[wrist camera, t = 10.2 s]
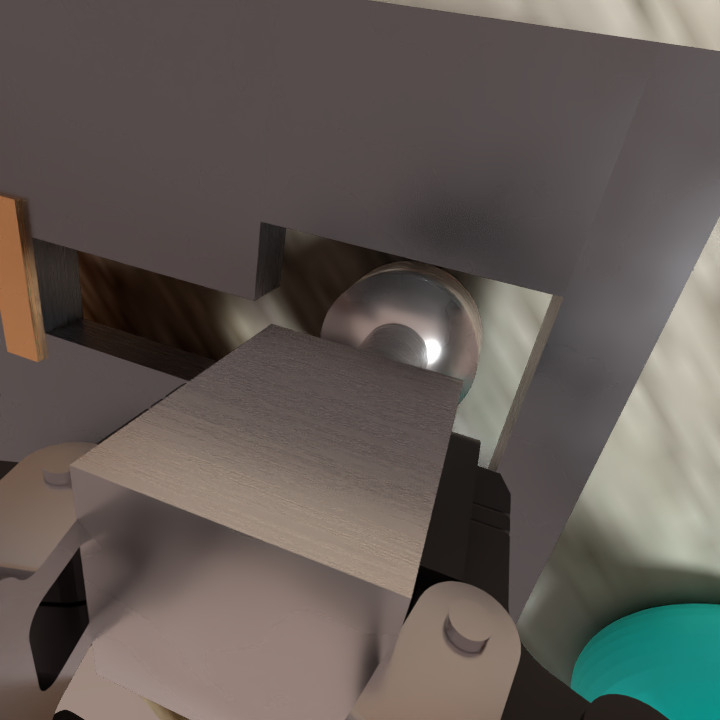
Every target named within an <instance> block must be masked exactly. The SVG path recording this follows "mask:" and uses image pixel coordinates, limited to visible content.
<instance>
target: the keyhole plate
mask: <svg viewBox="0 0 720 720" xmlns="http://www.w3.org/2000/svg"><path fill="white" fill-rule="evenodd" d="M719 216H720V51H715V50H708V49H701V48H694V47H687V46H680V45H673V44H666V43H659V42H652V41H645V40H638V39H632V38H625V37H618V36H611V35H604V34H597V33H590V32H583V31H576V30H569V29H562V28H555V27H548V26H541V25H534V24H528V23H521V22H514V21H507V20H500V19H493V18H486V17H479V16H472V15H465V14H458V13H451V12H444V11H437V10H431V9H424V8H417V7H410V6H403V5H396V4H389V3H382V2H375V1H368V0H0V460H1V461H11V462H20V461H22V460H23V459H24V458H25V457H27V456H29V455H30V454H32V453H34V452H36V451H38V450H40V449H43V448H45V447H48V446H52V445H55V444H60V443H66V442H88V443H93V444H96V443H98V442H99V441H101V440H102V439H104V438H105V437H106V436H108V435H109V434H111V433H112V432H114V431H115V430H117V429H118V428H120V427H121V426H122V425H124V424H125V423H127V422H128V421H130V420H131V419H133V418H134V417H135V416H137V415H138V414H140V413H141V412H143V411H144V410H146V409H150V408H151V405H153V404H154V403H156V402H157V401H159V400H160V399H164V398H165V396H166V395H167V394H169V393H170V392H172V391H173V390H175V389H176V388H177V387H179V386H180V385H182V384H184V383H188V382H189V381H191V380H192V379H193V378H195V377H196V376H198V375H199V374H201V373H202V372H203V371H205V370H206V369H208V368H209V367H211V366H212V365H214V364H215V363H216V362H218V361H215V360H212V359H209V358H206V357H203V356H200V355H196V354H193V353H190V352H187V351H184V350H181V349H178V348H174V347H171V346H168V345H165V344H162V343H159V342H156V341H152V340H149V339H146V338H143V337H140V336H137V335H134V334H131V333H127V332H124V331H121V330H118V329H115V328H112V327H109V326H105V325H102V324H99V323H96V322H93V321H90V320H87V319H83V309H82V298H81V287H80V276H79V265H78V254H77V250H79V251H82V252H85V253H89V254H92V255H96V256H99V257H103V258H106V259H110V260H113V261H117V262H120V263H124V264H127V265H131V266H134V267H138V268H141V269H145V270H148V271H152V272H155V273H159V274H162V275H166V276H169V277H173V278H176V279H180V280H183V281H187V282H190V283H194V284H197V285H201V286H204V287H208V288H211V289H215V290H218V291H222V292H225V293H229V294H232V295H236V296H239V297H243V298H246V299H250V300H253V301H255V300H256V299H258V298H260V297H262V296H264V295H265V294H267V293H269V292H271V291H273V290H274V289H276V288H278V287H280V282H281V272H282V263H283V253H284V244H285V234H286V228H288V229H292V230H296V231H300V232H304V233H308V234H312V235H316V236H320V237H324V238H328V239H332V240H336V241H340V242H344V243H348V244H352V245H356V246H360V247H364V248H368V249H372V250H376V251H380V252H384V253H388V254H392V255H396V256H400V257H404V258H408V259H412V260H416V261H420V262H424V263H428V264H432V265H436V266H440V267H444V268H448V269H452V270H456V271H460V272H464V273H468V274H472V275H476V276H480V277H484V278H488V279H492V280H496V281H500V282H504V283H508V284H512V285H516V286H520V287H524V288H528V289H532V290H536V291H540V292H544V293H548V294H552V295H553V296H552V299H551V302H550V304H549V307H548V310H547V312H546V315H545V318H544V320H543V323H542V326H541V328H540V331H539V334H538V336H537V339H536V342H535V344H534V347H533V350H532V352H531V355H530V358H529V360H528V363H527V366H526V368H525V371H524V374H523V376H522V379H521V382H520V384H519V387H518V390H517V392H516V395H515V398H514V400H513V403H512V406H511V408H510V411H509V414H508V416H507V419H506V422H505V424H504V427H503V430H502V432H501V435H500V438H499V440H498V443H497V446H496V448H495V451H494V454H493V456H492V459H491V462H490V464H489V467H488V470H491V471H494V472H497V473H500V474H501V476H502V478H503V480H504V482H505V484H506V486H507V488H508V490H509V492H510V493H511V511H510V533H509V536H510V557H509V614H510V617H511V618H512V620H513V622H514V624H516V622H517V620H518V618H519V616H520V614H521V612H522V610H523V608H524V606H525V604H526V602H527V600H528V598H529V596H530V594H531V592H532V590H533V588H534V586H535V584H536V582H537V580H538V578H539V576H540V574H541V572H542V570H543V568H544V566H545V564H546V562H547V560H548V558H549V556H550V554H551V552H552V550H553V548H554V546H555V544H556V542H557V540H558V538H559V536H560V534H561V532H562V530H563V528H564V526H565V524H566V522H567V520H568V518H569V516H570V514H571V512H572V510H573V508H574V506H575V504H576V502H577V500H578V498H579V496H580V494H581V492H582V490H583V488H584V486H585V484H586V482H587V480H588V478H589V476H590V474H591V472H592V470H593V468H594V466H595V464H596V462H597V460H598V458H599V456H600V454H601V452H602V450H603V448H604V446H605V444H606V442H607V440H608V438H609V436H610V434H611V432H612V430H613V428H614V426H615V424H616V422H617V420H618V418H619V416H620V414H621V412H622V410H623V408H624V406H625V404H626V402H627V400H628V398H629V396H630V394H631V392H632V390H633V388H634V386H635V384H636V382H637V380H638V378H639V376H640V374H641V372H642V370H643V368H644V366H645V364H646V362H647V360H648V358H649V356H650V354H651V352H652V350H653V348H654V346H655V344H656V342H657V340H658V338H659V336H660V334H661V332H662V330H663V328H664V326H665V324H666V322H667V320H668V318H669V316H670V314H671V312H672V310H673V308H674V306H675V304H676V302H677V300H678V298H679V296H680V294H681V292H682V290H683V288H684V286H685V284H686V282H687V280H688V278H689V276H690V274H691V272H692V270H693V268H694V266H695V264H696V262H697V260H698V258H699V256H700V254H701V252H702V250H703V248H704V246H705V244H706V242H707V240H708V238H709V236H710V234H711V232H712V230H713V228H714V226H715V224H716V222H717V220H718V218H719Z"/></svg>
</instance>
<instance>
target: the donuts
mask: <svg viewBox="0 0 720 720" xmlns="http://www.w3.org/2000/svg"><path fill="white" fill-rule="evenodd" d="M570 688H571V689H572V690H574V691H575V692H576V693H578V694H579V695H581V696H582V697H583V698H585V699H586V700H587V701H589V702H590V703H592V701H593V700H595V699H596V698H598V697H600V696H603V695H606V694H621V695H627V696H630V697H633V698H636V699H638V700H640V701H642V702H644V703H646V704H648V705H650V706H651V707H653V708H654V709H656V710H658V711H659V712H660V713H662V714H663V715H664V716H665V717H667V718H668V719H669V720H720V605H718V604H698V603H692V604H674V605H666V606H659V607H654V608H649V609H645V610H642V611H639V612H636V613H633V614H631V615H628V616H625V617H623V618H621V619H619V620H617V621H615V622H613V623H611V624H610V625H608V626H606V627H605V628H603V629H602V630H601V631H599V632H598V633H597V634H596V635H595V636H594V637H593V638H592V639H591V640H590V641H589V642H588V643H587V645H586V646H585V647H584V649H583V650H582V652H581V654H580V655H579V657H578V659H577V661H576V663H575V666H574V669H573V674H572V679H571V686H570Z"/></svg>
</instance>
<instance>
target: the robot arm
mask: <svg viewBox="0 0 720 720" xmlns="http://www.w3.org/2000/svg"><path fill="white" fill-rule="evenodd" d="M185 384H186V383H184V384H182V385H180V386H179V387H177V388H176V389H175V390H173V391H172V392H170V393H169V394H167V395H166V396H165V398H166V397H168V396H169V395H171V394H172V393H173V392H175V391H176V390H178V389H179V388H181V387H182V386H183V385H185ZM165 398H164V399H165ZM162 400H163V399H160V400H159V401H157V402H156V403H154V404H153V405H151V408H152V407H153V406H155V405H156V404H158V403H159V402H161V401H162ZM148 410H149V409H146V410H144V411H143V412H141V413H140V414H138V415H137V416H135V417H134V418H133V419H131V420H130V421H128V422H127V423H125V424H124V425H122V426H121V427H120V428H118V429H117V430H115V431H114V432H112V433H111V434H109V435H108V436H106V437H105V438H104V439H102V440H101V441H99V442H98V443H96V444H93V443H88V442H66V443H60V444H55V445H52V446H48V447H45V448H43V449H40V450H38V451H36V452H34V453H32V454H30V455H29V456H27V457H25V458H24V459H23V460H22V461H20V462H11V461H1V460H0V720H53V717H54V714H55V711H56V708H57V706H58V704H59V702H60V700H61V698H62V696H63V694H64V692H65V690H66V689H67V687H68V685H69V683H70V681H71V680H72V677H73V676H74V674H75V672H76V670H77V669H78V667H79V665H80V663H81V662H82V660H83V658H84V656H85V654H86V653H87V651H88V649H89V647H90V646H91V644H92V637H91V629H90V622H89V615H88V607H87V599H86V591H85V583H84V575H83V568H82V560H81V552H80V542H79V534H78V526H77V520H76V513H75V505H74V497H73V490H72V482H71V474H70V466H69V465H70V464H72V463H73V462H75V461H76V460H77V459H79V458H80V457H82V456H83V455H85V454H86V453H87V452H89V451H90V450H92V449H93V448H95V447H96V446H97V445H99V444H100V443H102V442H103V441H105V440H106V439H108V438H109V437H110V436H112V435H113V434H115V433H116V432H118V431H119V430H120V429H122V428H123V427H125V426H126V425H128V424H129V423H130V422H132V421H133V420H135V419H136V418H138V417H139V416H140V415H142V414H143V413H145V412H146V411H148ZM479 451H480V440H476V439H473V438H470V437H467V436H464V435H461V434H457V433H454V432H451V435H450V439H449V443H448V448H447V452H446V456H445V460H444V464H443V468H442V473H441V477H440V481H439V485H438V489H437V493H436V498H435V502H434V506H433V510H432V514H431V519H430V523H429V527H428V531H427V535H426V539H425V544H424V548H423V552H422V556H421V560H420V564H419V569H418V573H417V577H416V581H415V585H414V589H413V594H412V598H411V601H410V604H409V607H408V610H407V613H406V616H405V619H404V622H403V625H402V628H401V631H400V634H399V637H398V640H397V643H396V646H395V649H394V651H391V650H389V649H388V650H387V652H386V654H385V655H384V657H383V659H382V660H381V662H380V664H379V665H378V667H377V668H376V670H375V672H374V673H373V675H372V677H371V678H370V680H369V682H368V683H367V685H366V687H365V688H364V690H363V691H362V693H361V695H360V696H359V698H358V700H357V701H356V703H355V705H354V706H353V708H352V709H351V711H350V713H349V714H348V716H347V717H346V718H345V720H669V719H668V718H667V717H665V716H664V715H663V714H662V713H660V712H659V711H658V710H656V709H654V708H653V707H651V706H650V705H648V704H646V703H644V702H642V701H640V700H638V699H636V698H633V697H630V696H627V695H621V694H606V695H603V696H600V697H598V698H596V699H595V700H593V701H592V703H590V702H589V701H587V700H586V699H585V698H583V697H582V696H581V695H579V694H578V693H576V692H575V691H574V690H572V689H571V688H570V687H568V686H567V685H565V684H564V683H563V682H561V681H560V680H559V679H557V678H556V677H554V676H553V675H552V674H551V673H549V672H548V671H547V670H546V669H544V668H543V667H542V666H541V665H540V664H539V663H538V662H537V661H536V660H535V659H534V658H533V657H532V656H531V655H530V653H529V652H528V651H527V650H526V648H525V647H524V646H523V644H522V643H521V641H520V638H519V634H518V631H517V628H516V626H515V624H514V622H513V620H512V618H511V617H510V614H509V557H510V536H509V533H510V511H511V493H510V492H509V490H508V488H507V486H506V484H505V482H504V480H503V478H502V476H501V474H500V473H497V472H494V471H491V470H488V469H485V468H482V467H479V466H478V459H479Z"/></svg>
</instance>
